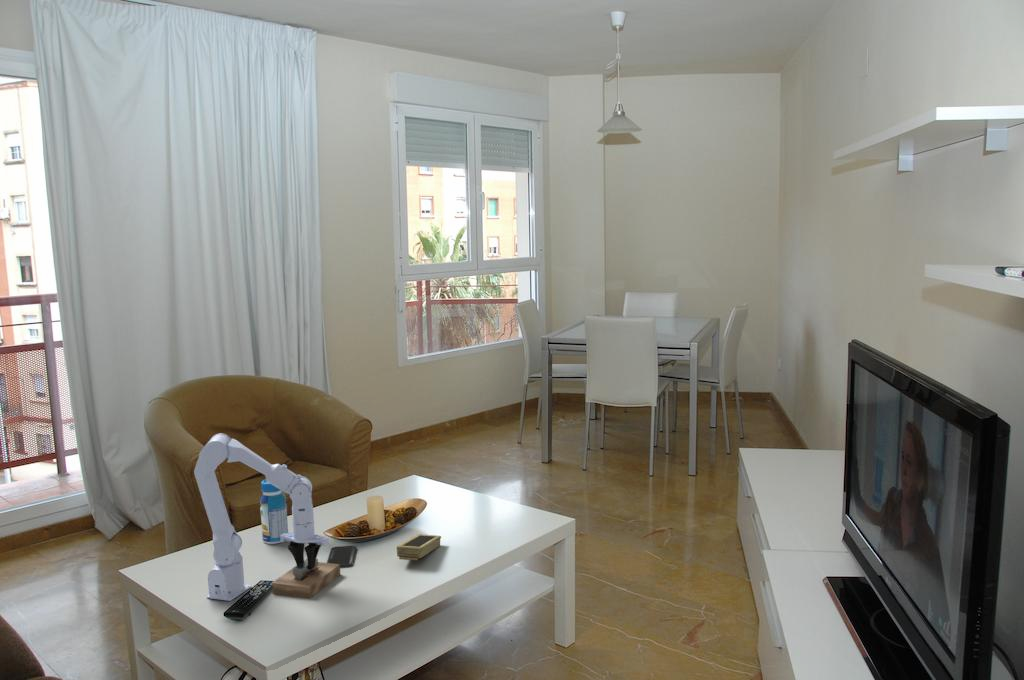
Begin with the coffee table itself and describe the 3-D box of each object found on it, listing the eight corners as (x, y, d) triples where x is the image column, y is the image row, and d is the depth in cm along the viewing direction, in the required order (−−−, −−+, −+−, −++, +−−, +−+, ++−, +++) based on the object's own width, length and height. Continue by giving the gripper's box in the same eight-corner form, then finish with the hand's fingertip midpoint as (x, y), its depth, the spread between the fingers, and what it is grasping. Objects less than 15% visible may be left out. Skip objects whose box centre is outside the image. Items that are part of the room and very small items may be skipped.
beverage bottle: (282, 545, 254) (278, 484, 251) (257, 544, 255) (253, 484, 253) (293, 535, 262) (289, 477, 260) (269, 534, 263) (265, 476, 261)
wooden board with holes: (310, 598, 215) (309, 587, 214) (272, 593, 218) (271, 582, 218) (340, 574, 230) (339, 564, 229) (304, 570, 233) (303, 560, 233)
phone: (356, 545, 250) (352, 564, 235) (356, 548, 250) (352, 568, 235) (331, 547, 249) (325, 566, 234) (331, 550, 249) (325, 569, 234)
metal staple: (303, 589, 219) (302, 569, 219) (293, 588, 220) (292, 568, 220) (318, 578, 227) (317, 558, 226) (309, 577, 228) (308, 557, 227)
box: (395, 563, 233) (395, 546, 233) (419, 547, 255) (419, 531, 255) (422, 565, 231) (422, 548, 232) (443, 548, 253) (444, 533, 254)
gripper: (333, 518, 223) (336, 564, 225) (289, 514, 228) (292, 559, 230) (320, 527, 217) (322, 574, 218) (274, 523, 221) (277, 569, 223)
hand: (306, 567), depth 224 cm, fingers closed on metal staple, 3 cm apart
